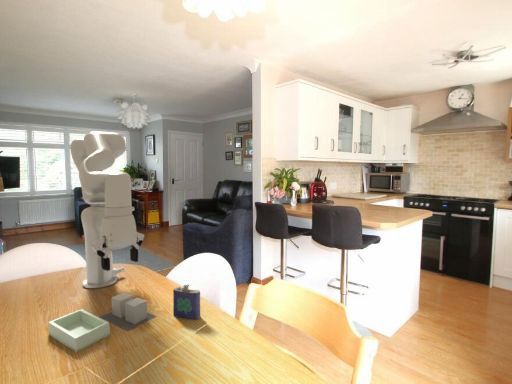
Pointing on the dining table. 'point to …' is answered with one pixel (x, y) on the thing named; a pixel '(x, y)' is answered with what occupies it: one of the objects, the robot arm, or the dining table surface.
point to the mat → (123, 323)
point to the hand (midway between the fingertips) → (120, 265)
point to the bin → (78, 329)
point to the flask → (186, 303)
